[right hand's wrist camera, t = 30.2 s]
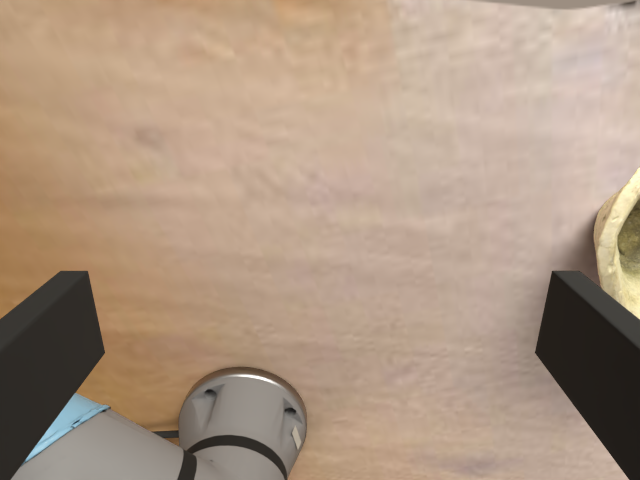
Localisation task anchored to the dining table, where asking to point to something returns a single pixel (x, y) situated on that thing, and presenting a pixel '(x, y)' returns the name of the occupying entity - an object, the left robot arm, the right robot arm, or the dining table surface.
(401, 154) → the dining table surface
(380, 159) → the dining table surface
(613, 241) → the bowl
